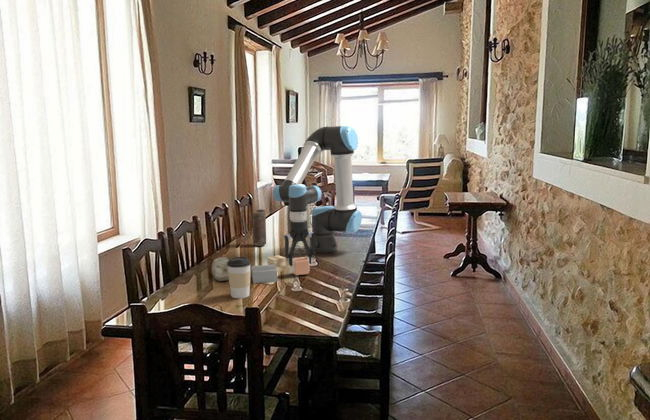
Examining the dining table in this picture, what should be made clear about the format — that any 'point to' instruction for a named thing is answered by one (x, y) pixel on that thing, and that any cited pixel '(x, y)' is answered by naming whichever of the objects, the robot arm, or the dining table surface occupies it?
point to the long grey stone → (220, 269)
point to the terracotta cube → (301, 266)
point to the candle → (259, 227)
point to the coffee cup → (239, 276)
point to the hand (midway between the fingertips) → (300, 271)
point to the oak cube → (277, 262)
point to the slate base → (264, 273)
